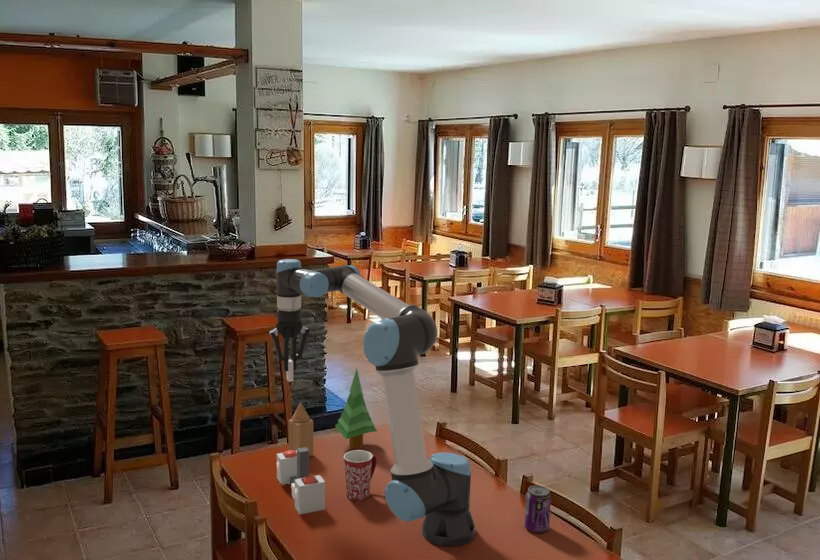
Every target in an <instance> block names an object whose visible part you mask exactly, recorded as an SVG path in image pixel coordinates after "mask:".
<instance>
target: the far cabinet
mask: <svg viewBox="0 0 820 560" xmlns="http://www.w3.org/2000/svg"><path fill="white" fill-rule="evenodd" d="M285 452H286V451H284V452H279V453H276V480H277V479H278V480H279V482H280V483H281V484H288V485H290V477H292V476H296V477H297V450H296V457H291V458H285ZM278 480H277V481H278ZM279 482H278V483H279ZM280 483H279V484H280Z"/></svg>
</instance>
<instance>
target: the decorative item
mask: <svg viewBox="0 0 820 560" xmlns="http://www.w3.org/2000/svg"><path fill="white" fill-rule="evenodd" d="M287 422H288V450H294V451H296V450H297V449H298V448H304V447H306V448H307V449H308V450H309V457H312V456H313V455H314V420H313V419H311V418H310V416H309V414H308V413H307V411H306V409H305V407H304V405H303V404H302V401H300V402H299V404H298V405H297V408H296V410H295V411H294V413H293V416H292V417H291V418H290V419H288V421H287Z"/></svg>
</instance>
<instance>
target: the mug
mask: <svg viewBox="0 0 820 560" xmlns="http://www.w3.org/2000/svg"><path fill="white" fill-rule="evenodd" d="M343 460H344V461H343V462H344V474H345V478H344V479H345V493H346V498H347V499H348V500H349V501H355V502H360V501H365V500H367V499H368V498H369V497H370V493H371V492H370V491H371V480H372V478H373V476H374V473H375V470H376V467H377V461H378V460H377V456H376V455H374V454H373V453H372V452H370V451H367V450H364V449H362V450H361V449H355V450H350V451H348V452H345V453H344V455H343Z"/></svg>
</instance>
